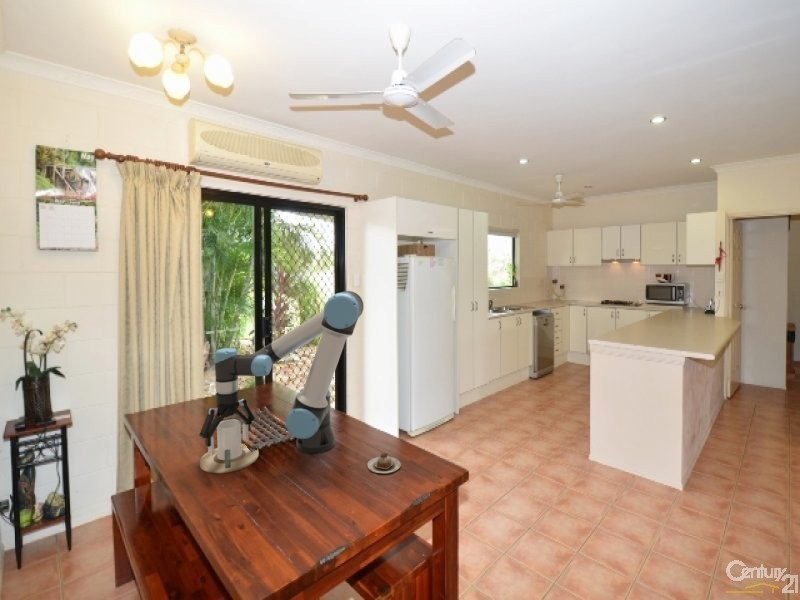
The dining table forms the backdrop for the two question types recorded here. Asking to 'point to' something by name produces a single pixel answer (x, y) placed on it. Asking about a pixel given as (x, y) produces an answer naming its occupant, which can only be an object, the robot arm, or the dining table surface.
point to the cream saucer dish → (228, 461)
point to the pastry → (384, 463)
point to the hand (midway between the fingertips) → (229, 447)
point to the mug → (229, 439)
